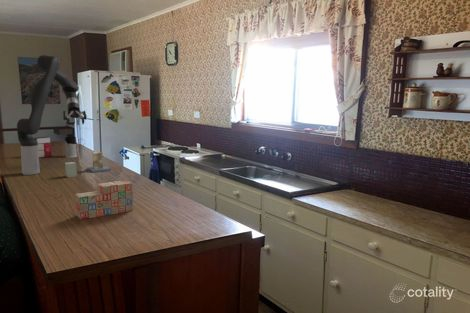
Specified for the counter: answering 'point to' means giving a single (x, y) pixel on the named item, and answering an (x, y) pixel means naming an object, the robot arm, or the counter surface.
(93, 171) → the slate board
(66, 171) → the sage block
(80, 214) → the stack of blocks
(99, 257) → the counter surface
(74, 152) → the glass holder
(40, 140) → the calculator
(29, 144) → the robot arm
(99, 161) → the birch block
